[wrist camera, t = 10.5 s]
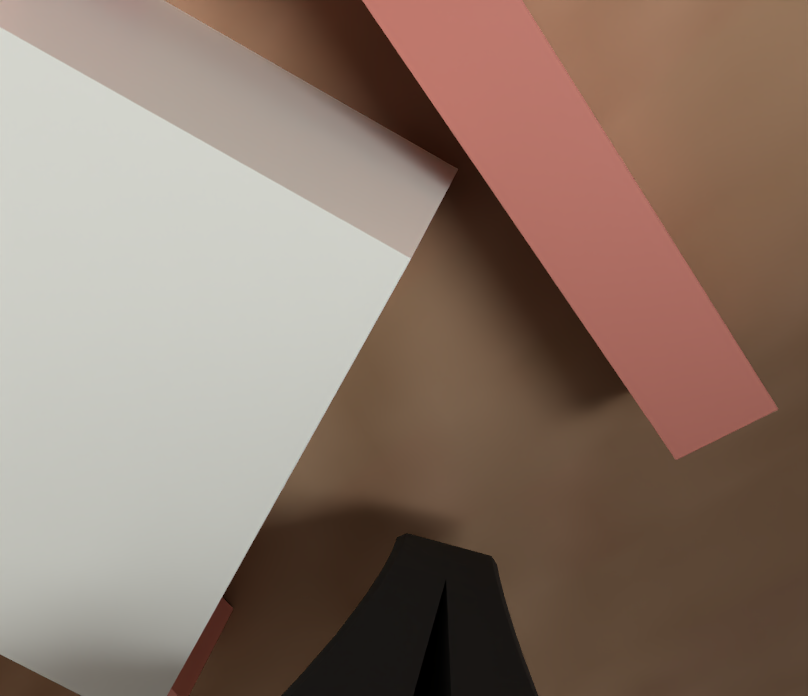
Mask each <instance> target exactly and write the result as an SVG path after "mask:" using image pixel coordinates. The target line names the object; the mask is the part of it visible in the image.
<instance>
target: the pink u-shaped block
mask: <svg viewBox="0 0 808 696" xmlns="http://www.w3.org/2000/svg"><path fill="white" fill-rule="evenodd" d="M362 1H363V2H364V4H365V5H366V7H367V8H368V10H369V11H370V13H371V14H372V15H373V17H374V18H375V20H376V21H377V23H378V24H379V26H380V27H381V29H382V30H383V32H384V33H385V35H386V36H387V37H388V39H389V40H390V42H391V43H392V45H393V46H394V48H395V49H396V51H397V52H398V54H399V55H400V57H401V58H402V59H403V61H404V62H405V64H406V65H407V67H408V68H409V70H410V71H411V73H412V74H413V76H414V77H415V78H416V80H417V81H418V83H419V84H420V86H421V87H422V89H423V90H424V92H425V93H426V95H427V96H428V98H429V99H430V100H431V102H432V103H433V105H434V106H435V108H436V109H437V111H438V112H439V114H440V115H441V117H442V118H443V119H444V121H445V122H446V124H447V125H448V127H449V128H450V130H451V131H452V133H453V134H454V136H455V137H456V139H457V140H458V141H459V143H460V144H461V146H462V147H463V149H464V150H465V152H466V153H467V155H468V156H469V158H470V159H471V161H472V162H473V163H474V165H475V166H476V168H477V169H478V171H479V172H480V174H481V175H482V177H483V178H484V180H485V181H486V182H487V184H488V185H489V187H490V188H491V190H492V191H493V193H494V194H495V196H496V197H497V199H498V200H499V202H500V203H501V204H502V206H503V207H504V209H505V210H506V212H507V213H508V215H509V216H510V218H511V219H512V221H513V222H514V224H515V225H516V226H517V228H518V229H519V231H520V232H521V234H522V235H523V237H524V238H525V240H526V241H527V243H528V244H529V245H530V247H531V248H532V250H533V251H534V253H535V254H536V256H537V257H538V259H539V260H540V262H541V263H542V265H543V266H544V267H545V269H546V270H547V272H548V273H549V275H550V276H551V278H552V279H553V281H554V282H555V284H556V285H557V286H558V288H559V289H560V291H561V292H562V294H563V295H564V297H565V298H566V300H567V301H568V303H569V304H570V306H571V307H572V308H573V310H574V311H575V313H576V314H577V316H578V317H579V319H580V320H581V322H582V323H583V325H584V326H585V328H586V329H587V330H588V332H589V333H590V335H591V336H592V338H593V339H594V341H595V342H596V344H597V345H598V347H599V348H600V349H601V351H602V352H603V354H604V355H605V357H606V358H607V360H608V361H609V363H610V364H611V366H612V367H613V369H614V370H615V371H616V373H617V374H618V376H619V377H620V379H621V380H622V382H623V383H624V385H625V386H626V388H627V389H628V390H629V392H630V393H631V395H632V396H633V398H634V399H635V401H636V402H637V404H638V405H639V407H640V408H641V410H642V411H643V412H644V414H645V415H646V417H647V418H648V420H649V421H650V423H651V424H652V426H653V427H654V429H655V430H656V432H657V433H658V434H659V436H660V437H661V439H662V440H663V442H664V443H665V445H666V446H667V448H668V449H669V451H670V452H671V453H672V455H673V456H674V458H675V459H676V460H677V459H679V458H681V457H683V456H685V455H687V454H689V453H691V452H694V451H696V450H698V449H700V448H702V447H704V446H706V445H708V444H710V443H712V442H714V441H716V440H718V439H720V438H722V437H724V436H726V435H728V434H730V433H732V432H734V431H736V430H738V429H740V428H742V427H744V426H746V425H748V424H750V423H752V422H754V421H756V420H758V419H760V418H762V417H764V416H766V415H768V414H770V413H772V412H774V411H776V410H779V409H778V408H777V406H776V405H775V403H774V401H773V400H772V398H771V397H770V395H769V393H768V392H767V390H766V389H765V387H764V385H763V384H762V382H761V381H760V379H759V377H758V376H757V374H756V373H755V371H754V369H753V368H752V366H751V365H750V363H749V362H748V360H747V358H746V357H745V355H744V354H743V352H742V350H741V349H740V347H739V346H738V344H737V342H736V341H735V339H734V338H733V336H732V334H731V333H730V331H729V330H728V328H727V326H726V325H725V323H724V322H723V320H722V318H721V317H720V315H719V314H718V312H717V310H716V309H715V307H714V306H713V304H712V303H711V301H710V299H709V298H708V296H707V295H706V293H705V291H704V290H703V288H702V287H701V285H700V283H699V282H698V280H697V279H696V277H695V275H694V274H693V272H692V271H691V269H690V267H689V266H688V264H687V263H686V261H685V259H684V258H683V256H682V255H681V253H680V251H679V250H678V248H677V247H676V245H675V244H674V242H673V240H672V239H671V237H670V236H669V234H668V232H667V231H666V229H665V228H664V226H663V224H662V223H661V221H660V220H659V218H658V216H657V215H656V213H655V212H654V210H653V208H652V207H651V205H650V204H649V202H648V200H647V199H646V197H645V196H644V194H643V192H642V191H641V189H640V188H639V186H638V185H637V183H636V181H635V180H634V178H633V177H632V175H631V173H630V172H629V170H628V169H627V167H626V165H625V164H624V162H623V161H622V159H621V157H620V156H619V154H618V153H617V151H616V149H615V148H614V146H613V145H612V143H611V141H610V140H609V138H608V137H607V135H606V134H605V132H604V130H603V129H602V127H601V126H600V124H599V122H598V121H597V119H596V118H595V116H594V114H593V113H592V111H591V110H590V108H589V106H588V105H587V103H586V102H585V100H584V98H583V97H582V95H581V94H580V92H579V90H578V89H577V87H576V86H575V84H574V82H573V81H572V79H571V78H570V76H569V75H568V73H567V71H566V70H565V68H564V67H563V65H562V63H561V62H560V60H559V59H558V57H557V55H556V54H555V52H554V51H553V49H552V47H551V46H550V44H549V43H548V41H547V39H546V38H545V36H544V35H543V33H542V31H541V30H540V28H539V27H538V25H537V23H536V22H535V20H534V19H533V17H532V16H531V14H530V12H529V11H528V9H527V8H526V6H525V4H524V3H523V1H522V0H362ZM232 611H233V608H232V607H231V606H230V605H229V604H228V603H227V602H226V600H225V599H224V598H223V597H222V598H221V600H220V602H219V603H218V605H217V607H216V609H215V611H214V612H213V614H212V616H211V618H210V619H209V621H208V623H207V625H206V627H205V628H204V630H203V632H202V634H201V636H200V637H199V639H198V641H197V643H196V645H195V646H194V648H193V650H192V652H191V653H190V655H189V657H188V659H187V661H186V662H185V664H184V666H183V668H182V670H181V671H180V673H179V675H178V677H177V679H176V680H175V682H174V684H173V686H172V687H171V689H170V691H169V693H168V695H167V696H189V694H190V692H191V691H192V689H193V687H194V685H195V683H196V681H197V679H198V677H199V675H200V673H201V671H202V669H203V667H204V665H205V663H206V661H207V659H208V657H209V655H210V653H211V652H212V650H213V648H214V646H215V644H216V642H217V640H218V638H219V636H220V634H221V632H222V630H223V628H224V626H225V624H226V622H227V620H228V618H229V616H230V614H231V613H232Z"/></svg>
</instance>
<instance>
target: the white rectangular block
mask: <svg viewBox="0 0 808 696" xmlns="http://www.w3.org/2000/svg"><path fill="white" fill-rule="evenodd" d="M457 171H458V169H457V168H455V167H454V166H452V165H450V164H448V163H447V162H445V161H443V160H441V159H440V158H438V157H436V156H434V155H433V154H431V153H429V152H427V151H426V150H424V149H422V148H420V147H419V146H417V145H415V144H413V143H412V142H410V141H408V140H407V139H405V138H403V137H401V136H400V135H398V134H396V133H394V132H393V131H391V130H389V129H387V128H386V127H384V126H382V125H380V124H379V123H377V122H375V121H373V120H372V119H370V118H368V117H366V116H365V115H363V114H361V113H359V112H358V111H356V110H354V109H352V108H351V107H349V106H347V105H345V104H344V103H342V102H340V101H338V100H337V99H335V98H333V97H332V96H330V95H328V94H326V93H325V92H323V91H321V90H319V89H318V88H316V87H314V86H312V85H311V84H309V83H307V82H305V81H304V80H302V79H300V78H298V77H297V76H295V75H293V74H291V73H290V72H288V71H286V70H284V69H283V68H281V67H279V66H277V65H276V64H274V63H272V62H270V61H269V60H267V59H265V58H264V57H262V56H260V55H258V54H257V53H255V52H253V51H251V50H250V49H248V48H246V47H244V46H243V45H241V44H239V43H237V42H236V41H234V40H232V39H230V38H229V37H227V36H225V35H223V34H222V33H220V32H218V31H216V30H215V29H213V28H211V27H209V26H208V25H206V24H204V23H202V22H201V21H199V20H197V19H196V18H194V17H192V16H190V15H189V14H187V13H185V12H183V11H182V10H180V9H178V8H176V7H175V6H173V5H171V4H169V3H168V2H166V1H164V0H0V654H1V655H2V656H4V657H6V658H8V659H10V660H12V661H14V662H16V663H18V664H20V665H22V666H24V667H26V668H28V669H30V670H32V671H34V672H36V673H38V674H40V675H42V676H44V677H46V678H48V679H50V680H52V681H54V682H55V683H57V684H59V685H61V686H63V687H65V688H67V689H69V690H71V691H73V692H75V693H77V694H79V695H81V696H167V695H168V693H169V691H170V689H171V687H172V686H173V684H174V682H175V680H176V679H177V677H178V675H179V673H180V671H181V670H182V668H183V666H184V664H185V662H186V661H187V659H188V657H189V655H190V653H191V652H192V650H193V648H194V646H195V645H196V643H197V641H198V639H199V637H200V636H201V634H202V632H203V630H204V628H205V627H206V625H207V623H208V621H209V619H210V618H211V616H212V614H213V612H214V611H215V609H216V607H217V605H218V603H219V602H220V600H221V598H222V596H223V594H224V593H225V591H226V589H227V587H228V585H229V584H230V582H231V580H232V578H233V577H234V575H235V573H236V571H237V569H238V568H239V566H240V564H241V562H242V560H243V559H244V557H245V555H246V553H247V551H248V550H249V548H250V546H251V544H252V542H253V541H254V539H255V537H256V535H257V534H258V532H259V530H260V528H261V526H262V525H263V523H264V521H265V519H266V517H267V516H268V514H269V512H270V510H271V508H272V507H273V505H274V503H275V501H276V500H277V498H278V496H279V494H280V492H281V491H282V489H283V487H284V485H285V483H286V482H287V480H288V478H289V476H290V474H291V473H292V471H293V469H294V467H295V466H296V464H297V462H298V460H299V458H300V457H301V455H302V453H303V451H304V449H305V448H306V446H307V444H308V442H309V440H310V439H311V437H312V435H313V433H314V432H315V430H316V428H317V426H318V424H319V423H320V421H321V419H322V417H323V415H324V414H325V412H326V410H327V408H328V406H329V405H330V403H331V401H332V399H333V398H334V396H335V394H336V392H337V390H338V389H339V387H340V385H341V383H342V381H343V380H344V378H345V376H346V374H347V372H348V371H349V369H350V367H351V365H352V364H353V362H354V360H355V358H356V356H357V355H358V353H359V351H360V349H361V347H362V346H363V344H364V342H365V340H366V338H367V337H368V335H369V333H370V331H371V330H372V328H373V326H374V324H375V322H376V321H377V319H378V317H379V315H380V313H381V312H382V310H383V308H384V306H385V304H386V303H387V301H388V299H389V297H390V295H391V294H392V292H393V290H394V288H395V287H396V285H397V283H398V281H399V279H400V278H401V276H402V274H403V272H404V270H405V269H406V267H407V265H408V263H409V261H410V260H411V258H412V256H413V254H414V252H415V250H416V248H417V247H418V245H419V243H420V241H421V239H422V237H423V235H424V233H425V231H426V229H427V228H428V226H429V224H430V222H431V220H432V218H433V216H434V214H435V212H436V211H437V209H438V207H439V205H440V203H441V201H442V199H443V197H444V195H445V193H446V192H447V190H448V188H449V186H450V184H451V182H452V180H453V178H454V176H455V175H456V173H457Z"/></svg>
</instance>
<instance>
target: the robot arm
mask: <svg viewBox="0 0 808 696" xmlns="http://www.w3.org/2000/svg"><path fill="white" fill-rule="evenodd" d="M281 696H538V694H537V691H536V689H535V686H534V683H533V681H532V678H531V675H530V673H529V670H528V667H527V665H526V662H525V659H524V657H523V654H522V651H521V648H520V645H519V642H518V639H517V636H516V633H515V630H514V627H513V624H512V621H511V617H510V614H509V611H508V608H507V604H506V601H505V597H504V593H503V590H502V586H501V582H500V577H499V573H498V568H497V564H496V563H495V561H494V559H493V558H492V556H489V555H485V554H482V553H478V552H474V551H471V550H467V549H463V548H460V547H456V546H452V545H448V544H445V543H441V542H437V541H434V540H430V539H426V538H422V537H419V536H415V535H411V534H408V533H406V534H404V535H402V536H399V537H397V539H396V542H395V545H394V548H393V550H392V552H391V554H390V556H389V558H388V560H387V562H386V564H385V565H384V567H383V569H382V571H381V572H380V574H379V576H378V577H377V579H376V580H375V582H374V583H373V585H372V586H371V588H370V589H369V591H368V592H367V594H366V595H365V597H364V598H363V599H362V601H361V602H360V603H359V605H358V606H357V607H356V609H355V610H354V611H353V613H352V614H351V615H350V617H349V618H348V619H347V621H346V622H345V624H344V625H343V626H342V627H341V629H340V630H339V631H338V633H337V634H336V635H335V636H334V637H333V639H332V640H331V641H330V642H329V643H328V644H327V645H326V647H325V648H324V649H323V650H322V651H321V652H320V654H319V655H318V656H317V657H316V658H315V659H314V660H313V662H312V663H311V664H310V665H309V666H308V667H307V669H306V670H305V671H304V672H303V673H302V674H301V675H300V676H299V678H298V679H297V680H296V681H295V682H294V683H293V684H292V685H291V686H290V687H289V688H288V689H287V690H286V691H285V692H284V693H283V694H282V695H281Z"/></svg>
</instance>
